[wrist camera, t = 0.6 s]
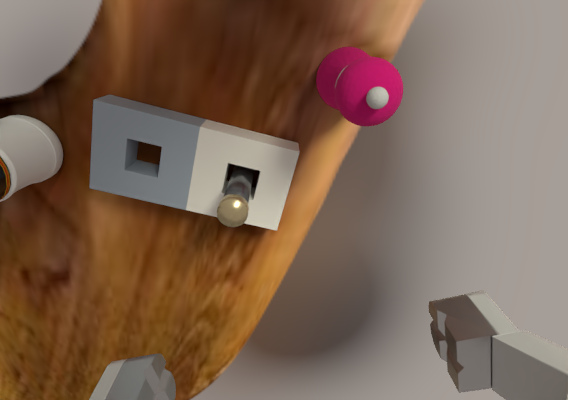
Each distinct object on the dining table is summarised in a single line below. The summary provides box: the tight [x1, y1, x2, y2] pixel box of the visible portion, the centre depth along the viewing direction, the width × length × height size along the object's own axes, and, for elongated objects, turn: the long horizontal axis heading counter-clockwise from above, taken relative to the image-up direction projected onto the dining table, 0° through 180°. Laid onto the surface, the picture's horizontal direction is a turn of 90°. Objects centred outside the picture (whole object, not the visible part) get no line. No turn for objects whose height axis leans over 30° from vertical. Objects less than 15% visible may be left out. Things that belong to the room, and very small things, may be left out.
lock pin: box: [217, 165, 254, 227], centre depth 45 cm, size 3×3×14 cm
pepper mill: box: [316, 47, 403, 126], centre depth 37 cm, size 7×7×20 cm
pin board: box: [90, 95, 300, 231], centre depth 49 cm, size 12×26×4 cm, turn 75°
